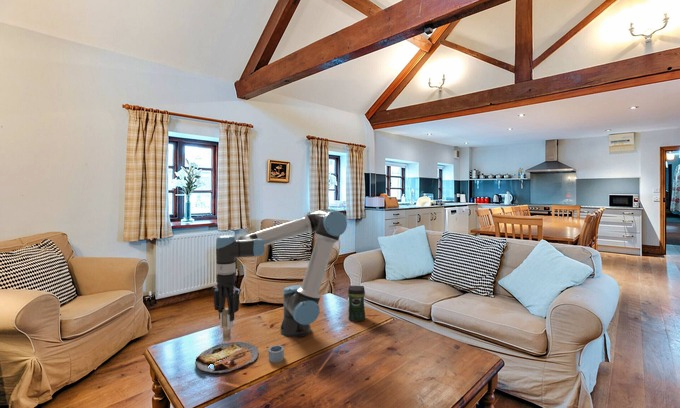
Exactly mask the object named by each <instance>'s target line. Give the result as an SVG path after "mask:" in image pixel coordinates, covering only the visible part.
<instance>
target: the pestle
mask: <svg viewBox="0 0 680 408" xmlns="http://www.w3.org/2000/svg"><path fill="white" fill-rule="evenodd" d="M228 313H229V310H228V307H225V309H223V328H222V341H223V342H230V341H231V339H232V338H231V329H229V330H228V329H227V314H228Z"/></svg>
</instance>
